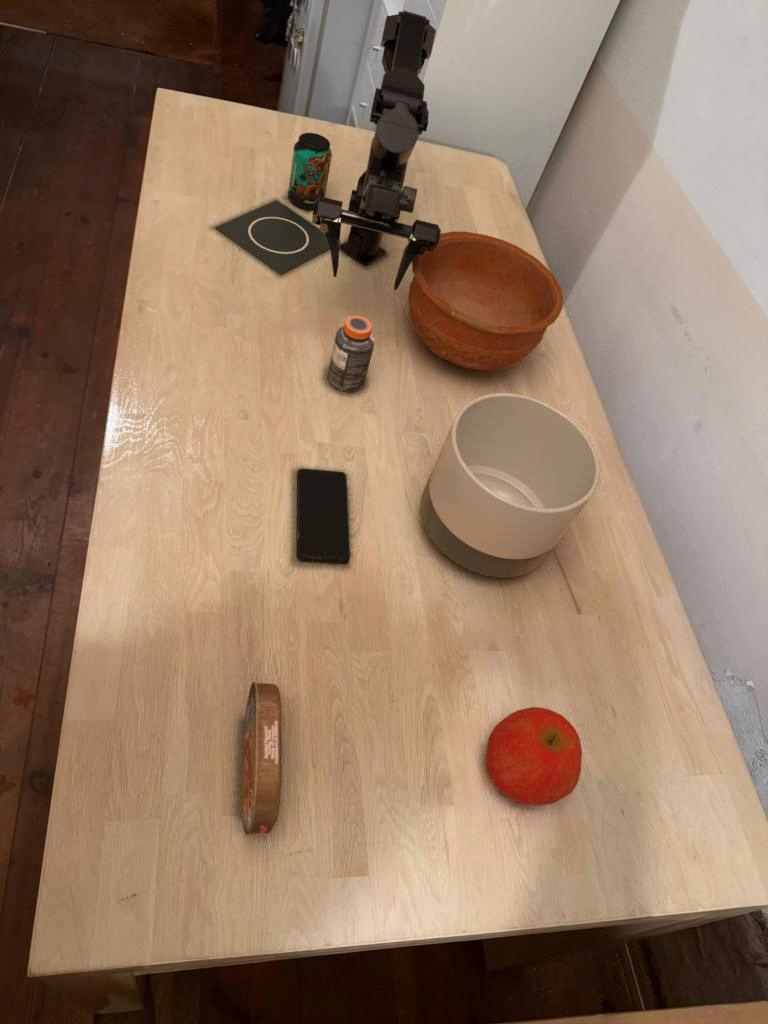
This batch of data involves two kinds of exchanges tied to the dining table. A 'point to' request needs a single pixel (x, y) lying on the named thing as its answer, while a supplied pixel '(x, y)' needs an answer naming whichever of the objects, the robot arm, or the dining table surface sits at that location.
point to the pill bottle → (351, 354)
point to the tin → (262, 759)
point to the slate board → (276, 236)
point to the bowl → (481, 300)
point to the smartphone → (322, 516)
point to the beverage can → (309, 170)
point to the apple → (534, 756)
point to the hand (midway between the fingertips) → (365, 283)
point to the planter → (508, 484)
